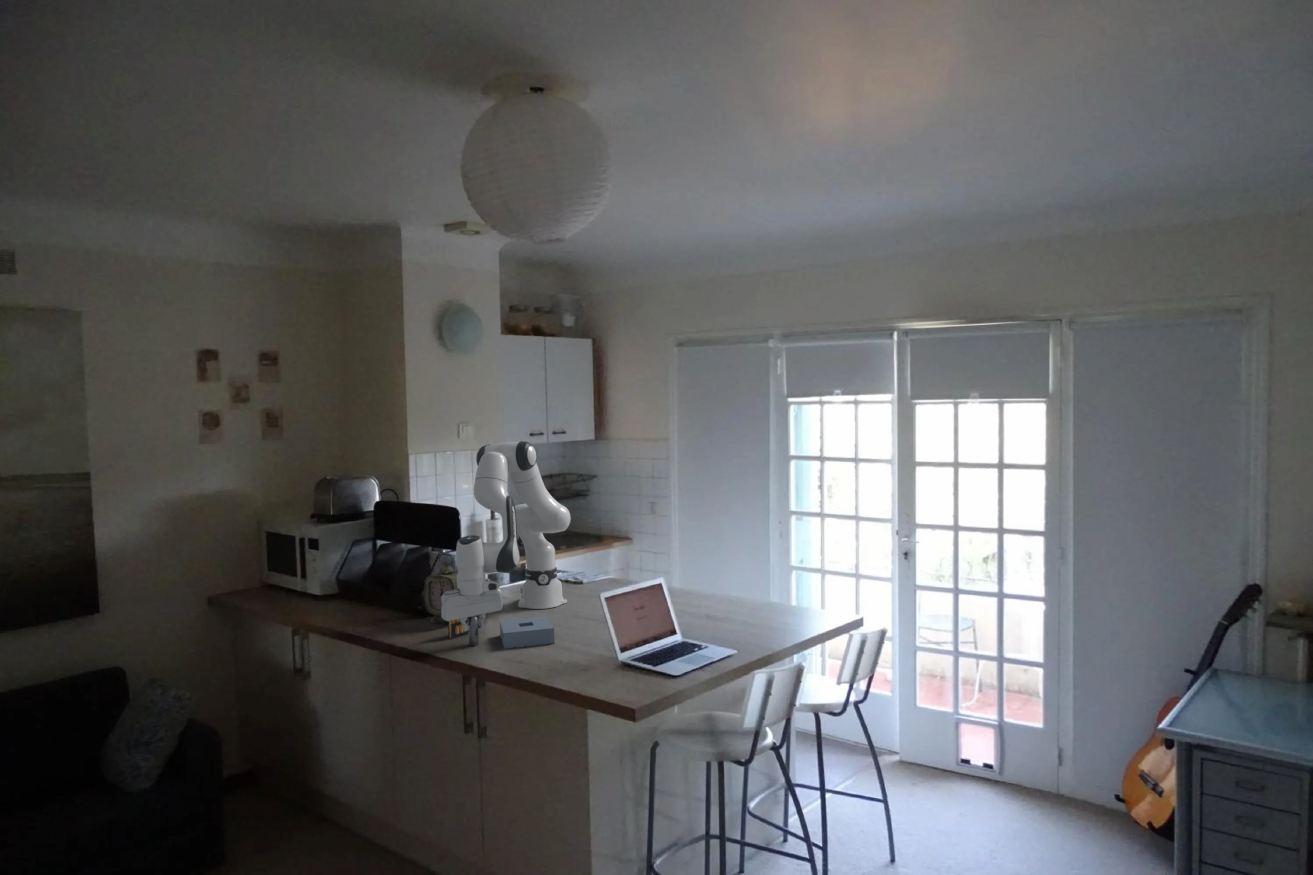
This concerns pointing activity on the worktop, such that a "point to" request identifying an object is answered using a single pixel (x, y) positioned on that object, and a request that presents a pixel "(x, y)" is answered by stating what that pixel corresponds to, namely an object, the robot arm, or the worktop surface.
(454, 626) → the ammunition clip
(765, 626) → the worktop surface
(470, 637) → the steel pin
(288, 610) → the worktop surface
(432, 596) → the tabletop clock
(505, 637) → the bore block
